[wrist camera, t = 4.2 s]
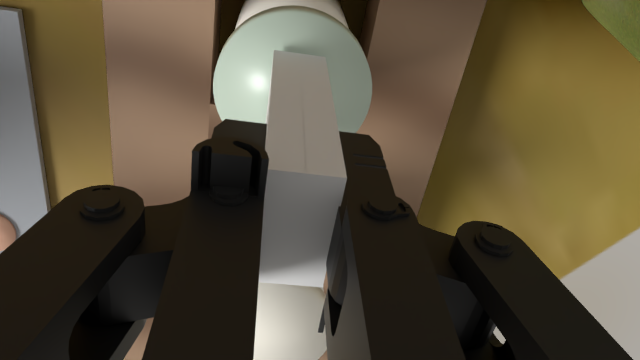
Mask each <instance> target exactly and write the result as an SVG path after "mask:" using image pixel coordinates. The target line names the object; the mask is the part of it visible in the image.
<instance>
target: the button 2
mask: <svg viewBox="0 0 640 360" xmlns="http://www.w3.org/2000/svg"><path fill="white" fill-rule="evenodd" d="M274 50H279V51H286V52H293V53H301V54H308V55H315V56H322V57H326V63H327V69H328V74H329V80H330V85H331V91H332V96H333V102H334V108H335V113H336V119H337V124H338V130H339V131H342V132H350V133H356V132H357V131H358V130H359V128H360V126H361V125H362V123H363V122H364V120H365V117H366V115H367V113H368V110H369V107H370V103H371V97H372V78H371V72H370V68H369V65H368V62H367V59H366V57H365V54H364V52H363V50H362V47H361V45H360V44H359V42H358V40H357V39H356V37H355V36H354V35H353V34H352V32H351V31H350V30H349V28H348V25H347V22H346V19H345V16H344V13H343V10H342V8H341V5H340V3H339V1H338V0H245V1H244V3H243V6H242V8H241V12H240V15H239V18H238V21H237V24H236V28H235V30H234V31H233V33H232V34H231V35H230V36H229V38H228V39H227V41H226V43H225V44H224V46H223V49H222V51H221V53H220V56H219V59H218V62H217V65H216V68H215V72H214V79H213V94H214V101H215V105H216V108H217V111H218V114H219V116H220V118H221V120H222V121H224V120H225V119H231V120H239V121H247V122H255V123H264V124H265V122H266V114H267V105H268V96H269V88H270V79H271V70H272V62H273V53H274Z"/></svg>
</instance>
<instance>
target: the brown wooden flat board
mask: <svg viewBox="0 0 640 360" xmlns="http://www.w3.org/2000/svg"><path fill="white" fill-rule="evenodd" d="M486 2H487V0H368V2H367V7H366V12H365V17H364V22H363V27H362V32H361V37H360V42H359V44H360V45H361V47H362V50H363V52H364V54H365V57H366V59H367V62H368V65H369V68H370V72H371V78H372V97H371V103H370V107H369V110H368V113H367V115H366V117H365V120H364V122H363V123H362V125H361V126H360V128H359V130H358V131H357V132H356V133H358V134H366V135H370V136H371V137H372V138H373V139H374V140H375V141H376V142H377V143H378V144H379V145H380V147H381V150H382V154H383V157H384V158H383V159H384V160H385V163H386V166H387V167H386V169H387V170H388V173H389V176H390V179H391V182H392V186H393V189H394V192H395V195H396V196H397V197H399V198H401V199H402V200H404V201H405V202H406V203H408V204H409V205H410V206H411V208H412V209H413V211H414V212H415V215H416V218H417V215H418V212H419V209H420V206H421V203H422V199H423V196H424V193H425V190H426V187H427V184H428V181H429V178H430V175H431V172H432V169H433V166H434V162H435V159H436V156H437V153H438V150H439V147H440V144H441V141H442V138H443V135H444V132H445V128H446V125H447V122H448V119H449V116H450V113H451V110H452V107H453V104H454V101H455V98H456V95H457V91H458V88H459V85H460V82H461V79H462V76H463V73H464V70H465V67H466V64H467V61H468V58H469V54H470V51H471V48H472V45H473V42H474V39H475V36H476V33H477V30H478V27H479V24H480V20H481V17H482V14H483V11H484V8H485V5H486ZM102 5H103V21H104V37H105V53H106V69H107V84H108V100H109V116H110V132H111V147H112V163H113V179H114V186H121V187H125V188H127V189H130V190H132V191H135V192H136V193H137V194H138V195H139V196H140V197H141V198H142V199H143V202H144V206H154V205H162V204H168V203H173V202H176V201H179V200H182V199H184V198H186V197H188V196H189V195H190V191H191V163H192V150H193V149H194V147H195V146H196V145H197V144H198V143H200V142H202V141H204V140H206V139H211V137H212V134H213V130H214V127H216V126H217V125H218V124H220V123H221V122H222V120H221V118H220V116H219V114H218V111H217V108H216V105H215V101H214V94H213V79H214V72H215V68H216V65H217V62H218V58H219V40H220V23H221V5H222V0H102ZM327 288H328V280H327V270H326V275H325V279H324V284H323V289H324V293H325V295H326V293H327ZM153 319H154V317H153V318H148V319H147V320H146V323H145V326H144V328H143V330H142V331H141V333H140V334H139V336H138V337H137V339H136V340H135V342H134V344H133V345H132V347H131V348H130V350H129V351H128V353H127V354H126V356H125V360H142V357H143V354H144V350H145V347H146V343H147V340H148V336H149V333H150V329H151V326H152V322H153ZM318 360H328V359H327V350H326V351H325V352H324V354H323V355H322V356H321V357H320V358H319V359H318Z"/></svg>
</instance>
